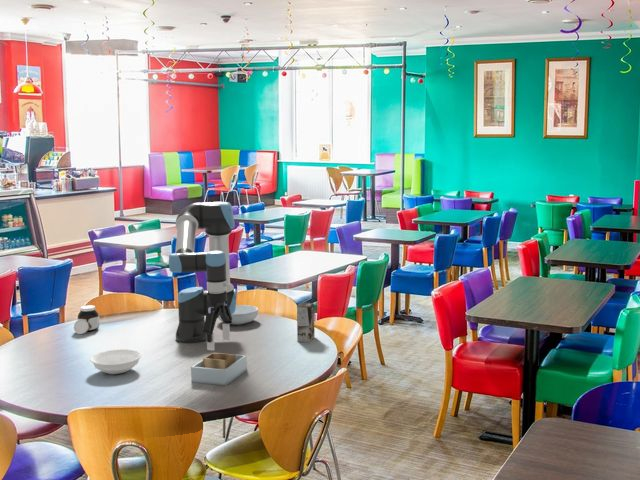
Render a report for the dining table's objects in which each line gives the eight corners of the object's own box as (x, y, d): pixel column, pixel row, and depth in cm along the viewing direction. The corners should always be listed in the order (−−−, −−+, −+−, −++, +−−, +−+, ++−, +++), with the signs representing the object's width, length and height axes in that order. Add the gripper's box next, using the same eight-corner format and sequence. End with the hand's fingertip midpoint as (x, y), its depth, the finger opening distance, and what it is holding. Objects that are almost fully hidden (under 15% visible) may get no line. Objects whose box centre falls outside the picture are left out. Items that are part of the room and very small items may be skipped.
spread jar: (99, 327, 373) (98, 304, 372) (100, 333, 363) (99, 309, 361) (73, 329, 370) (72, 306, 368) (74, 335, 359) (72, 311, 357)
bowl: (115, 383, 291) (114, 367, 290) (80, 375, 302) (79, 359, 301) (152, 369, 308) (152, 353, 307) (118, 361, 318) (117, 346, 317)
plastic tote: (191, 382, 291) (190, 367, 290) (214, 366, 309) (213, 352, 308) (225, 385, 287) (225, 370, 286) (246, 370, 305) (246, 355, 304)
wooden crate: (203, 375, 296) (202, 358, 295) (212, 369, 303) (212, 352, 302) (226, 378, 293) (226, 360, 291) (235, 371, 300) (235, 354, 299)
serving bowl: (267, 320, 382) (266, 307, 381) (241, 330, 365) (240, 316, 364) (234, 315, 393) (233, 302, 392) (207, 324, 376) (207, 311, 375)
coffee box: (310, 342, 342) (310, 307, 340) (297, 341, 344) (296, 306, 341) (315, 336, 351) (314, 302, 349) (301, 336, 352) (300, 302, 350)
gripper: (210, 299, 280) (213, 355, 284) (239, 284, 303) (241, 336, 307) (192, 298, 282) (194, 353, 286) (222, 283, 306) (224, 334, 309)
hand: (218, 344), depth 297 cm, fingers open, 13 cm apart
